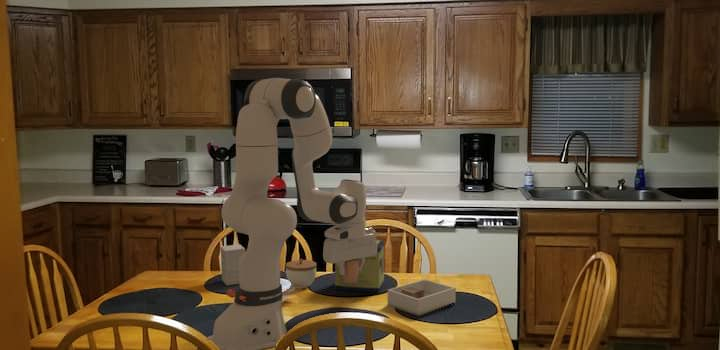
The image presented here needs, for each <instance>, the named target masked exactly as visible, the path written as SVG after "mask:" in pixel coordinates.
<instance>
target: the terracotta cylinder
mask: <svg viewBox="0 0 720 350" xmlns="http://www.w3.org/2000/svg"><path fill="white" fill-rule="evenodd" d="M343 266H344V269H347V274H346V275H343V282H344V283H357V282H358V277H359V259H354V260H349V261H345V262H344V265H343Z"/></svg>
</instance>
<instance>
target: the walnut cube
mask: <svg viewBox="0 0 720 350" xmlns="http://www.w3.org/2000/svg"><path fill="white" fill-rule="evenodd" d="M402 294H405V295H408V296H411V297H414V298H417V299H419V298H422V297H424V290H423V289H420V288H417V287H413V286H412V287H408V288H405V289H402Z"/></svg>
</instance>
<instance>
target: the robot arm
mask: <svg viewBox="0 0 720 350" xmlns="http://www.w3.org/2000/svg"><path fill="white" fill-rule="evenodd" d="M245 89H246V90H245V92H244V97H243V98H244V99H243V107H241V108H240V110H239V112H238V115H237V116H238V117H237V123H236V130H235V131H236V132H235V177H234V178H235V179H234V182H233V186H232V190H231V192H230V194H229V196H228V197H227V199H226V200H225V201H224V203H223V204H222V207H221V219H222V221H223V223H224V224H225V225H226V226H227V227H228V228H230V229H231V230H234V231H235V232H237V233H239V234H244V235H248V239H249V240H248V244H247V249H246V250H245V253H244V254H243V255H242V256H241V257H240V259H239V280H240V284H239V285H238V288H237V290H236V291H235V290H234V289H231V288H230V289H229V288H228V290H227V291H226V296H227V297H229V298H231V299H234V300H233V302H232V303H231V304H230V305H229V306H228V307H227V308H226V309H225V310H224V311H223V312H222V313H221V314H220V315H219V316H218V317H217V318H216V319H215V321H214V325H213V329H212V330H213V331H212V332H213V333H212V335H209V336H207V337H206V338H208V339H210V340H211V341H212V342H213V343H214V344H215V345H216V346H217V347H218V348H219V350H263V349H268V348H273V347H277V346H276V344H277V343H278V341H279V340H280V338H281V337H282V336H283V335H284V334H285V333H286V332H287V333H288V330H287V327H286V324H285V320H284V314H283V305H282V302H283V301H282V300H283V285H282V284H281V256H282V251H283V250H284V249H283V248H284V245H285V243H286V241H287V239H289V238H290V237H291V236H292V235H293V234H294V232H295V230H296V228H297V223H298V217H297V213H296V211H295V209H294V208H293V207H292V206H291V205H290V204H287V203H286V202H285V201H282V200H280V199H278V198H277V199H276V198H272V197H268V190H269V186H270V185H271V182H272V180H274V179H275V178H276V177H277V175H278V172H279V148H278V147H279V144H278V143H279V142H278V141H279V140H278V139H279V138H278V128H277V126H278V123H279V122H280V120H286V119H287V120H288V121H289V124H290V129H291V133H292V136H293V137H292V138H293V141H294V142H293V143H294V145H293V148H292V151H291V161H292V171H293V176H294V177H293V178H294V182H295V189H296V208H297V212H298V215H299V216H300V217H301V219H303V220H305V222H306V221H307V222H320V223H325V224H334V225H333V226H332V227H330V228H327V229H326V230H325V231H324V237H325V240H324V242H323V249H322V250H323V251H322V257H323V260H324V262H325V263H327V264H335V263H337V265H338V267H339V269H340V275H346V274H347V269H344V266H343V265H344V262H345V261H349V260H354V259H359V272H361V271H362V265H363V263H364V261H365V257H370V256H375V255H376V254H377V241H378V240H377V232H376V230H375V228H373V227H366V226H367V225H366V224H367V223H366V222H367V220H366V217H365V215H366V209H367V194H366V193H367V191H366V186H365V184H364V182H362V181H361V180H360V181H359V180H355V179H354V180H353V179H346V178H345V179H342V180H340V183H339V185H338V186H337V187H336V188H334V189H333V190H331V191H327V190H322V189H319V188H318V187H317V186H316V183H315V176H314V170H313V163H314V161H316V160H318V159H320V158H321V157H322V156H324V155H325V154H327V153H328V152H329V150H330V148H331V146H332V145H333V133H332V129H331V126H330V125H331V124H330V122H329V117H328V115H327V112H326V110H325V108H324V105H323V103H322V101H321V99H320V97H319V96H318V95H317V94H316V93H315V90H314V88H313V87H312V85H311V84H310V83H309V82H308V81H305V80H303V79H299V78H292V79H291V78H281V77H271V78H266V79H265V78H261V79H257V80H254V81H252V82H251V83H249V85H248V86H247V88H245Z"/></svg>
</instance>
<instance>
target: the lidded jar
mask: <svg viewBox="0 0 720 350" xmlns="http://www.w3.org/2000/svg"><path fill="white" fill-rule="evenodd" d="M285 275H286V278H287V281H288V280H289V281H290V282H291V283H292V284H293V285H292V284H291V283H290V282H289V281H288V282H289V283H290V284H291V285H292V287H293V286H294V287H293V288H295V289H304V288H305V289H306V288H308V287H309V288H310V286H311V285H312V284H313V282H314V281H315V279H316V277H317V276H316V275H317V262H315V261H313V260H308V259H302V258H299V259H296V260H291V261H288V262H286V263H285Z"/></svg>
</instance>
